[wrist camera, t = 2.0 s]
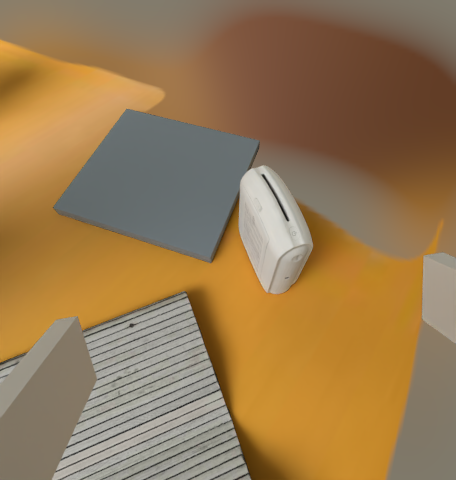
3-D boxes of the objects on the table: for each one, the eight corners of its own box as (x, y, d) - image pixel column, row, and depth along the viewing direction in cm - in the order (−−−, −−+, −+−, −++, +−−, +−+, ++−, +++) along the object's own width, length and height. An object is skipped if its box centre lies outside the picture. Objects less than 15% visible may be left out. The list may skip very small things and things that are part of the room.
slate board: (58, 213, 42) (52, 207, 40) (129, 116, 51) (126, 108, 49) (211, 263, 38) (210, 257, 37) (259, 148, 47) (259, 140, 45)
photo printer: (299, 288, 36) (327, 236, 25) (265, 300, 36) (279, 253, 25) (265, 218, 41) (275, 149, 30) (234, 228, 40) (234, 161, 29)
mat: (188, 295, 37) (182, 280, 32) (276, 546, 26) (285, 572, 22) (-20, 374, 33) (-57, 369, 29) (-16, 705, 22) (-72, 774, 18)
